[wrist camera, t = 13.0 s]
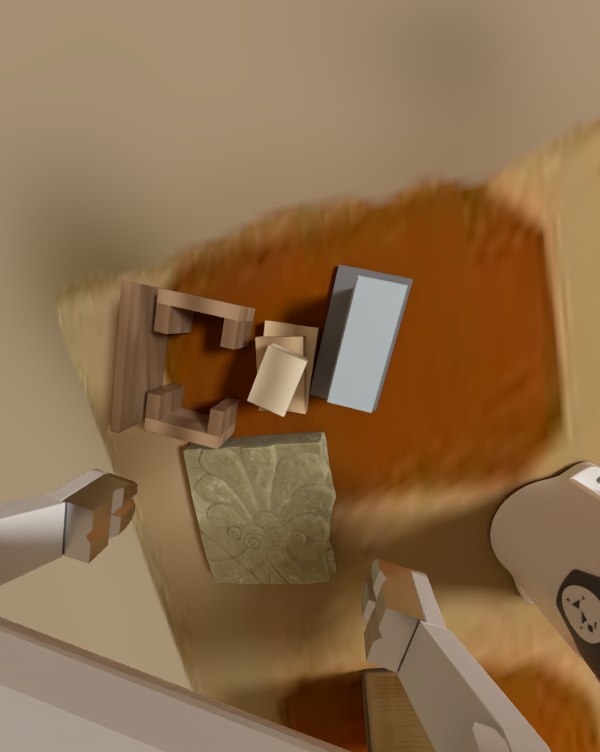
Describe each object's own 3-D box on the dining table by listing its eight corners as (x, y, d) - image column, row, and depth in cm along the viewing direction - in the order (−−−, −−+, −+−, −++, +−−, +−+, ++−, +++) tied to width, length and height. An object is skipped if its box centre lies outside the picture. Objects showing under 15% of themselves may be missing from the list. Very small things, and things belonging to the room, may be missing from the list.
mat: (411, 280, 30) (413, 279, 29) (374, 409, 33) (375, 410, 33) (338, 265, 31) (338, 264, 30) (309, 393, 34) (309, 394, 33)
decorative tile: (219, 567, 41) (208, 589, 38) (192, 439, 38) (177, 451, 34) (346, 566, 38) (347, 590, 35) (329, 428, 35) (328, 439, 31)
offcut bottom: (319, 327, 33) (318, 328, 30) (307, 407, 35) (305, 414, 33) (270, 320, 34) (265, 320, 31) (261, 399, 36) (255, 405, 33)
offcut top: (309, 358, 29) (307, 362, 26) (287, 408, 30) (283, 416, 28) (274, 343, 29) (268, 345, 26) (254, 394, 30) (247, 400, 28)
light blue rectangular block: (389, 295, 30) (407, 285, 22) (363, 391, 32) (371, 412, 25) (353, 287, 30) (358, 275, 23) (329, 383, 33) (327, 402, 25)
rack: (255, 308, 33) (233, 304, 26) (233, 432, 36) (209, 457, 29) (165, 288, 34) (121, 280, 27) (152, 411, 37) (110, 430, 30)
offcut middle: (305, 335, 31) (302, 336, 28) (306, 404, 32) (304, 411, 30) (261, 336, 31) (255, 337, 29) (264, 404, 33) (258, 410, 31)
